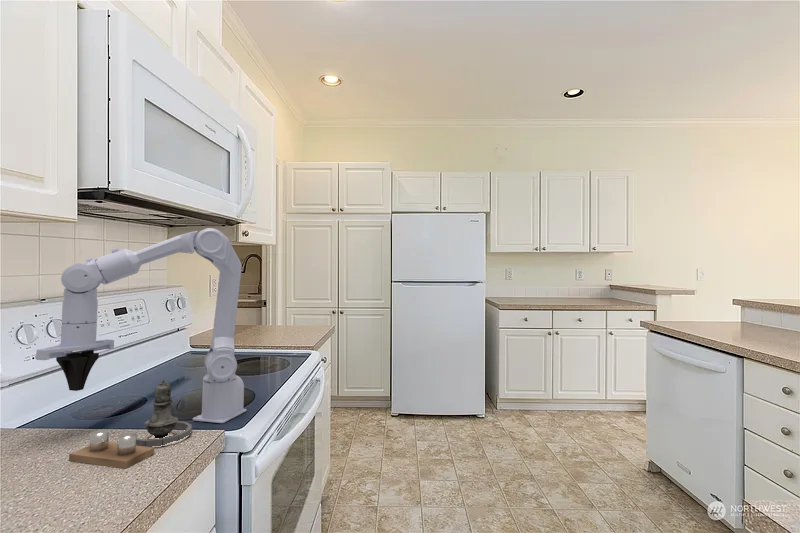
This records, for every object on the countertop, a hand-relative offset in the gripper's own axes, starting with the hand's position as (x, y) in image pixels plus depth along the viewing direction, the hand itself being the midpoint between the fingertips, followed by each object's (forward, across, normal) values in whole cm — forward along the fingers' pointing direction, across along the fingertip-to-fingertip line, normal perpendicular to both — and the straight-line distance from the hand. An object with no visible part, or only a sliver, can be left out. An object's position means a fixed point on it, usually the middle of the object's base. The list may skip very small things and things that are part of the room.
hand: (76, 389), depth 83 cm
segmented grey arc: (+9, -4, +19) cm, 22 cm away
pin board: (+9, +6, +16) cm, 20 cm away
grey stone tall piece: (+10, -4, +18) cm, 20 cm away
